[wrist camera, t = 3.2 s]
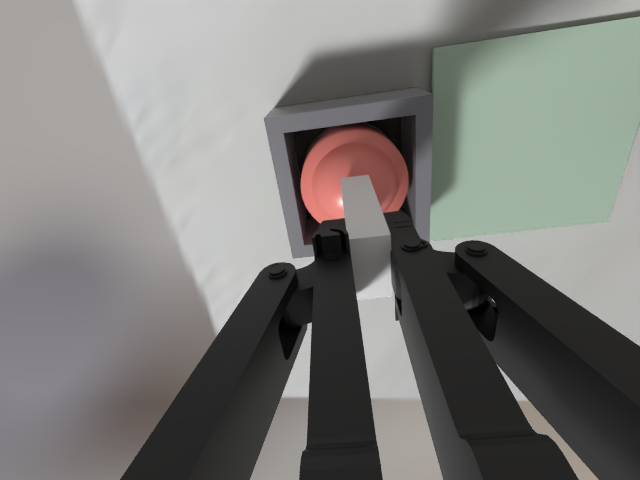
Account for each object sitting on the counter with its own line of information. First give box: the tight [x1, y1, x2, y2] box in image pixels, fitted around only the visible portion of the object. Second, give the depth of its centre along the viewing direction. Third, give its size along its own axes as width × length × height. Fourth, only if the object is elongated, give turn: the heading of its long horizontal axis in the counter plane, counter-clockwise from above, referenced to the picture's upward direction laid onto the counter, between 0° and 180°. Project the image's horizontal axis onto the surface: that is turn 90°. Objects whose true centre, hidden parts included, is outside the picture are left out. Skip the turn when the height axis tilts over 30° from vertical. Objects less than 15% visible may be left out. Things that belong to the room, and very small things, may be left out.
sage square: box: [430, 16, 640, 241], centre depth 22 cm, size 13×13×1 cm
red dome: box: [301, 122, 409, 224], centre depth 20 cm, size 6×6×5 cm
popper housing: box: [264, 87, 434, 258], centre depth 22 cm, size 9×9×4 cm
